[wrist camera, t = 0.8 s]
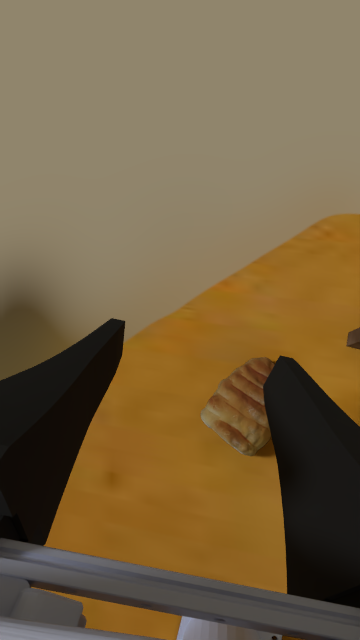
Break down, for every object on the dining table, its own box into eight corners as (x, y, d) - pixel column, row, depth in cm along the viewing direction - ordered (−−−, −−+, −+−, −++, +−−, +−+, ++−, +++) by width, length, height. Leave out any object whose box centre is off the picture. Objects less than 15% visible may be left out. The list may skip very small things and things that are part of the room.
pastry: (243, 346, 28) (247, 339, 24) (299, 381, 26) (312, 380, 22) (196, 418, 27) (193, 422, 23) (252, 460, 25) (258, 472, 21)
